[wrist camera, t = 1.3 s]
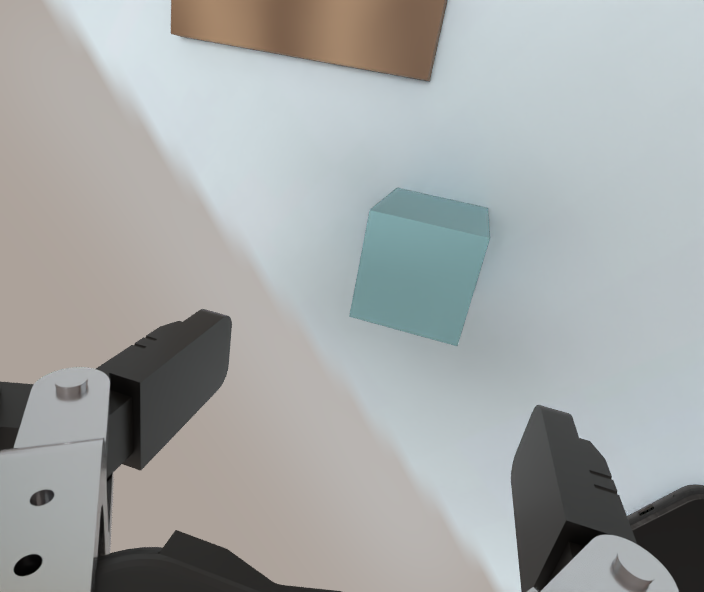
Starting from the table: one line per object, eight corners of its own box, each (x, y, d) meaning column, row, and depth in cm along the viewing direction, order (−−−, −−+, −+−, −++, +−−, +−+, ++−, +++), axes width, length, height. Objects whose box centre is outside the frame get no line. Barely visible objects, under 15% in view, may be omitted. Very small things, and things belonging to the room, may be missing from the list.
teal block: (487, 207, 25) (490, 238, 19) (462, 292, 27) (457, 346, 20) (397, 187, 26) (369, 210, 19) (379, 271, 28) (349, 316, 21)
